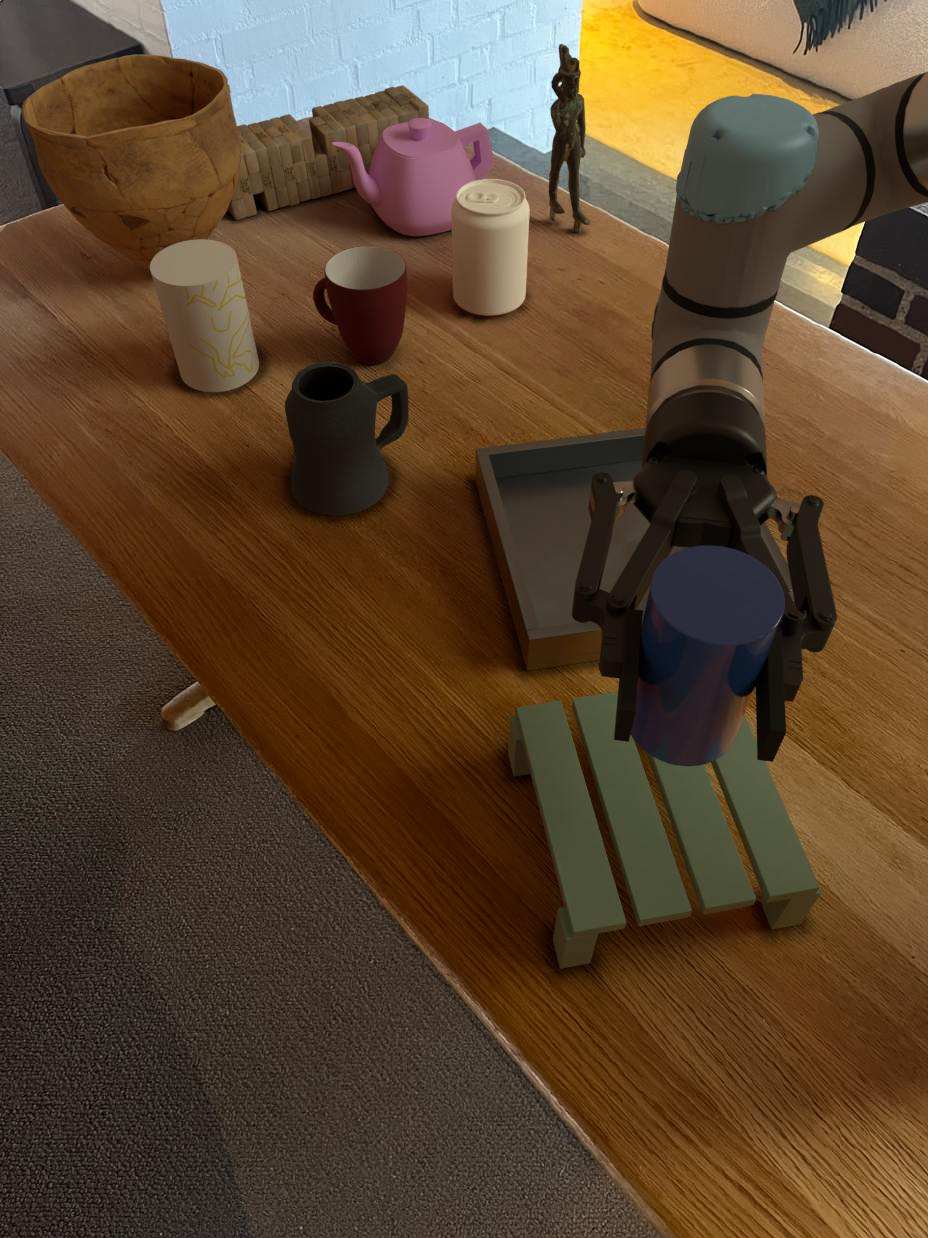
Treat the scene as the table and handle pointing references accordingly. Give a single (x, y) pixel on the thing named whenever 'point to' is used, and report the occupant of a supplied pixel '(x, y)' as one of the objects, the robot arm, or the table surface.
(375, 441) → the mug
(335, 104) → the block tower
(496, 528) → the tray
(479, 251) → the beverage can
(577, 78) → the statue
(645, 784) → the rack
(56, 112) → the bowl
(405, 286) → the mug
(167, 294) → the cream marbled cylinder
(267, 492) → the table surface
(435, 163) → the teapot
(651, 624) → the navy blue cylinder
